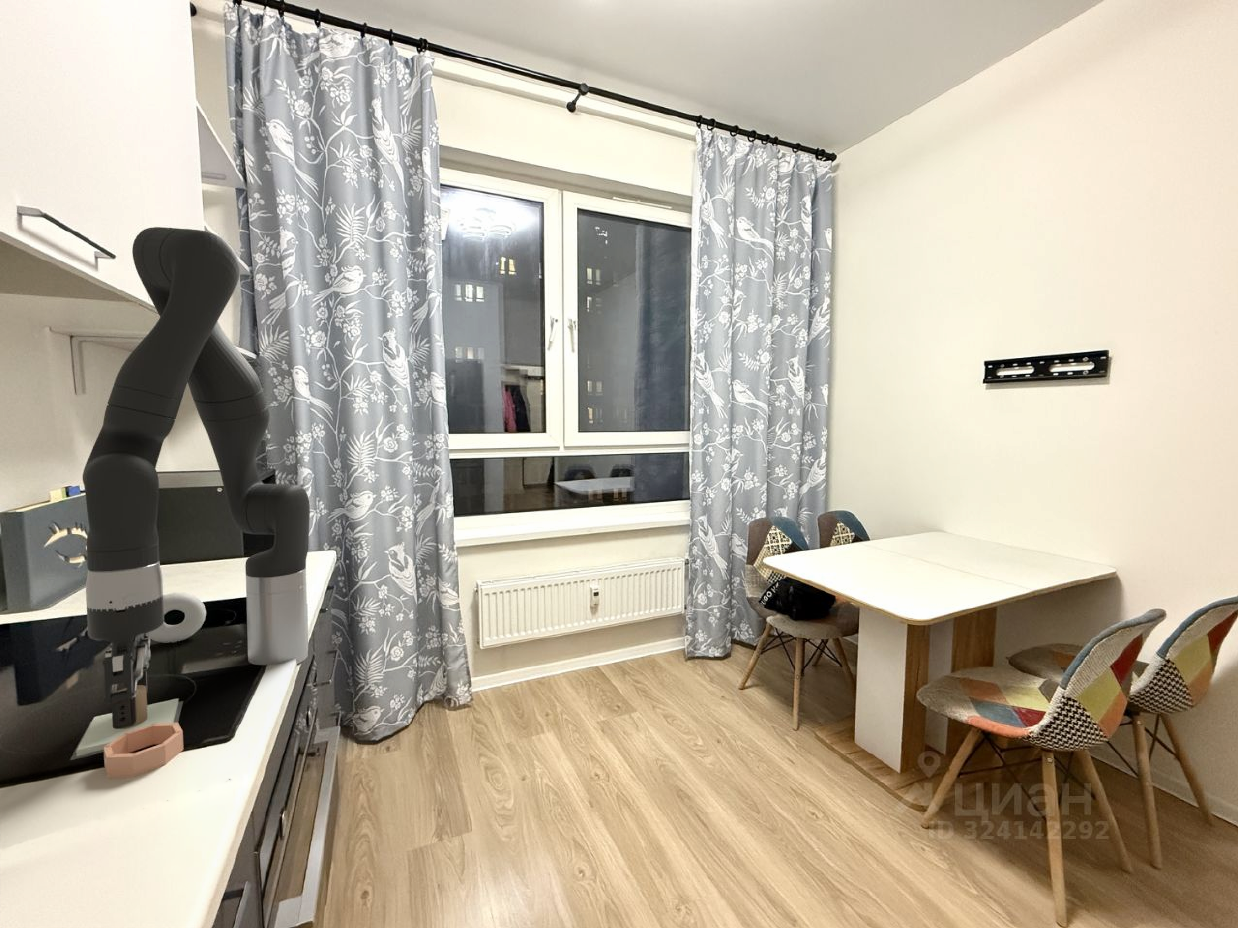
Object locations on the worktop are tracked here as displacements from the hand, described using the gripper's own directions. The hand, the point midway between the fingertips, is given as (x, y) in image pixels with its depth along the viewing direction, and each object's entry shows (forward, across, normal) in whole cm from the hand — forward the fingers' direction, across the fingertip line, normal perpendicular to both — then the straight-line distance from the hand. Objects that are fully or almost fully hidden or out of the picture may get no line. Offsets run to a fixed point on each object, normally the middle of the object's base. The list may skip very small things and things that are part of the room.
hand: (131, 710), depth 70 cm
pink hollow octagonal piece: (+4, +10, +2) cm, 11 cm away
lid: (+2, 0, 0) cm, 2 cm away
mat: (+4, 0, 0) cm, 4 cm away
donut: (+4, -38, +1) cm, 38 cm away
